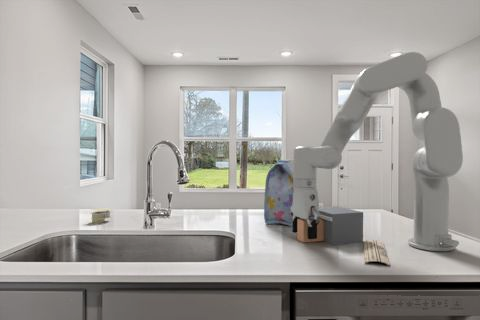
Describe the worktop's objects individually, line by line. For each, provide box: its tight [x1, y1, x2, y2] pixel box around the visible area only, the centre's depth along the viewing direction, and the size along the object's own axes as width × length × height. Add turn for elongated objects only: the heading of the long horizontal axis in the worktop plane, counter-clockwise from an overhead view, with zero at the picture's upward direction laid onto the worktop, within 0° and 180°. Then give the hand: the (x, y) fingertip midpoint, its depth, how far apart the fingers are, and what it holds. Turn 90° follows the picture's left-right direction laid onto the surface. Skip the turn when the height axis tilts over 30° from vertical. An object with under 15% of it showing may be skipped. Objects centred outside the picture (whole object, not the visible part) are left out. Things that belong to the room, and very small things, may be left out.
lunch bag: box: [263, 159, 302, 228], centre depth 149 cm, size 22×17×26 cm
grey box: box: [319, 205, 364, 245], centre depth 119 cm, size 14×13×10 cm
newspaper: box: [363, 239, 391, 267], centre depth 101 cm, size 24×7×2 cm, turn 161°
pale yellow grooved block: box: [90, 207, 112, 224], centre depth 146 cm, size 10×9×6 cm
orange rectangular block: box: [296, 218, 325, 243], centre depth 118 cm, size 4×18×7 cm, turn 110°
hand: (304, 235), depth 115 cm, fingers open, 9 cm apart
